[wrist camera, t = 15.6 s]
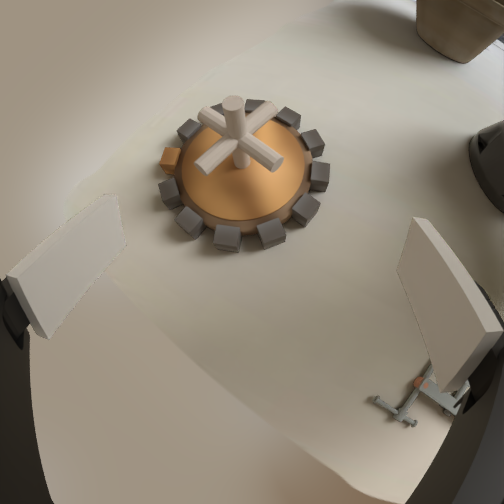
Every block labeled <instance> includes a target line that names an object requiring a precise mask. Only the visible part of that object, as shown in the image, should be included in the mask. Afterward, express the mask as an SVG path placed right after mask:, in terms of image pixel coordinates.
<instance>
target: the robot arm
mask: <svg viewBox="0 0 504 504" xmlns="http://www.w3.org/2000/svg"><path fill="white" fill-rule="evenodd" d="M469 155H470V161H471V165H472V168H473V171H474V173H475V176H476V178H477V180H478V182H479V184H480V185H481V187H482V189H483V190H484V192H485V194H486V195H487V196H488V198H489V199H490V200H491V201H492V203H493V204H494V205H495V206H496V207H497V208H498V209H500V210H501V211H502V212H504V120H503V121H501V122H498V123H496V124H493V125H491V126H489V127H486V128H484V129H482V130H480V131H479V132H478V133H477V134H476V135H475V136H474V137H473V138H472V140H471V142H470V146H469ZM126 246H127V245H126V241H125V236H124V231H123V226H122V221H121V216H120V210H119V205H118V199H117V194H104V195H102V196H101V197H100V198H98V199H97V200H95V201H94V202H93V203H91V204H90V205H88V206H87V207H86V208H84V209H83V210H82V211H80V212H79V213H78V214H76V215H75V216H74V217H72V218H71V219H70V220H68V221H67V222H66V223H65V224H63V225H62V226H61V227H60V228H58V229H57V230H56V231H55V232H53V233H52V234H51V235H50V236H49V237H47V238H46V239H45V240H44V241H43V242H41V243H40V244H39V245H38V246H37V247H35V248H34V249H33V250H32V251H31V252H30V253H29V254H28V255H26V256H25V257H24V258H23V259H22V260H21V261H20V262H19V263H18V264H17V265H15V266H14V267H13V268H12V269H11V270H10V271H9V272H8V273H7V274H6V278H5V279H4V280H3V281H1V279H0V504H54V503H53V501H52V499H51V497H50V494H49V491H48V487H47V484H46V480H45V476H44V472H43V468H42V464H41V459H40V455H39V450H38V445H37V439H36V433H35V427H34V418H33V410H32V400H31V388H30V359H29V348H30V343H29V342H30V335H29V332H28V330H27V329H26V328H27V326H28V325H29V324H31V326H32V327H33V329H34V331H35V332H36V334H37V335H39V336H41V337H43V338H46V339H48V340H50V339H51V337H52V336H53V334H54V333H55V332H56V330H57V329H58V328H59V326H60V325H61V324H62V322H63V321H64V320H65V318H66V317H67V316H68V314H69V313H70V312H71V311H72V309H73V308H74V307H75V305H76V304H77V303H78V302H79V300H80V299H81V298H82V297H83V295H84V294H85V293H86V292H87V291H88V289H89V288H90V287H91V286H92V284H93V283H94V282H95V281H96V280H97V279H98V277H99V276H100V275H101V274H102V273H103V272H104V270H105V269H106V268H107V267H108V266H109V265H110V263H111V262H112V261H113V260H114V259H115V258H116V257H117V256H118V254H119V253H120V252H121V251H122V250H123V249H124V248H125V247H126ZM397 273H398V275H399V277H400V280H401V282H402V284H403V287H404V289H405V292H406V294H407V296H408V299H409V301H410V304H411V306H412V309H413V312H414V314H415V317H416V319H417V322H418V325H419V328H420V330H421V333H422V336H423V339H424V342H425V345H426V348H427V351H428V354H429V357H430V360H431V363H432V367H433V370H434V373H435V377H436V380H437V384H438V387H439V391H440V393H446V392H453V391H458V390H459V389H460V388H461V387H462V385H463V384H464V383H465V382H466V381H467V380H468V382H469V385H470V388H469V389H468V391H467V392H466V393H465V394H464V395H463V396H462V397H461V398H460V399H459V400H458V401H457V402H456V403H455V405H454V406H453V408H456V407H457V406H458V405H459V404H461V405H460V407H459V410H458V412H457V414H456V417H455V419H454V421H453V423H452V425H451V427H450V430H449V432H448V434H447V436H446V438H445V440H444V442H443V443H442V445H441V447H440V449H439V451H438V453H437V455H436V456H435V458H434V460H433V462H432V463H431V465H430V467H429V468H428V470H427V472H426V473H425V475H424V477H423V478H422V480H421V481H420V483H419V484H418V486H417V487H416V489H415V490H414V492H413V493H412V495H411V496H410V498H409V499H408V500H407V502H406V503H405V504H504V322H503V320H502V318H501V317H500V315H499V313H498V311H497V310H496V309H495V306H494V305H493V303H492V302H491V301H490V298H489V297H488V295H487V294H486V292H485V291H484V289H483V288H482V287H481V286H480V285H479V284H477V283H476V282H475V281H474V280H473V279H472V277H471V276H470V275H469V273H468V272H467V270H466V269H465V267H464V266H463V264H462V263H461V262H460V260H459V259H458V258H457V256H456V255H455V253H454V252H453V251H452V249H451V248H450V247H449V245H448V244H447V243H446V242H445V240H444V239H443V238H442V236H441V235H440V234H439V233H438V231H437V230H436V229H435V228H434V226H433V225H432V224H431V223H430V222H429V220H428V219H424V218H417V217H412V221H411V225H410V228H409V232H408V236H407V239H406V242H405V246H404V249H403V252H402V255H401V259H400V262H399V265H398V268H397Z"/></svg>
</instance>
